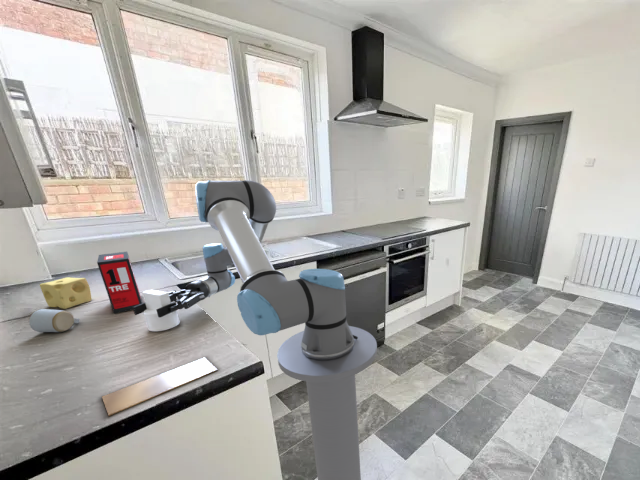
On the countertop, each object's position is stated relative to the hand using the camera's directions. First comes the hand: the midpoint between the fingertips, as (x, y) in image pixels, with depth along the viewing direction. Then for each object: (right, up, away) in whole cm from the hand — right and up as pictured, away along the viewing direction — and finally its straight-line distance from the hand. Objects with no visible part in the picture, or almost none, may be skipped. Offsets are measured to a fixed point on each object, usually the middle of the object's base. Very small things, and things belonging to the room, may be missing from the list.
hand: (146, 312), depth 99 cm
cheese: (-54, +1, +29) cm, 61 cm away
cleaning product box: (-28, +1, +27) cm, 39 cm away
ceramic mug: (-34, -6, +6) cm, 35 cm away
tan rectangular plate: (+22, -16, -23) cm, 36 cm away
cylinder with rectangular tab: (+1, -5, +6) cm, 8 cm away
